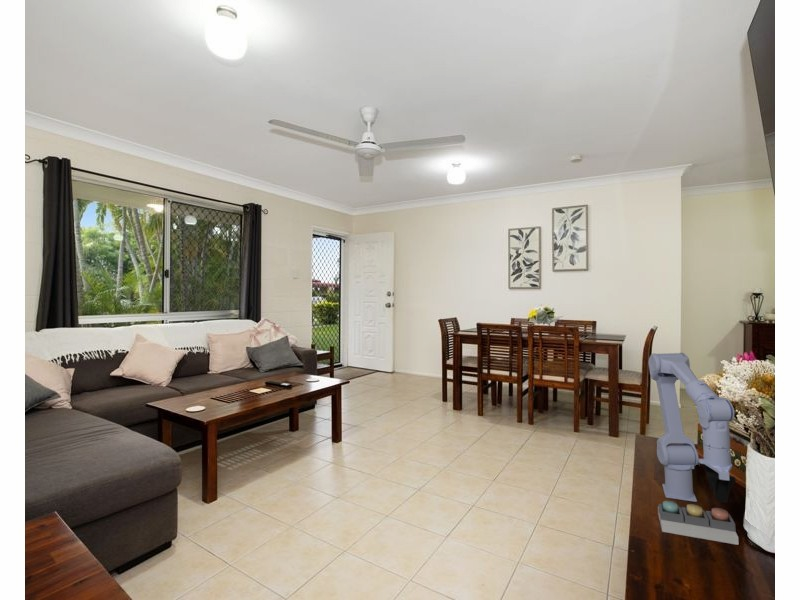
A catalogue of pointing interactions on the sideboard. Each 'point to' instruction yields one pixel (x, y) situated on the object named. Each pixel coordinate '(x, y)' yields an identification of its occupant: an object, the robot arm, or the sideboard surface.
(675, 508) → the teal button
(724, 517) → the brick button
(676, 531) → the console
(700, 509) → the ochre button
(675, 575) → the sideboard surface
